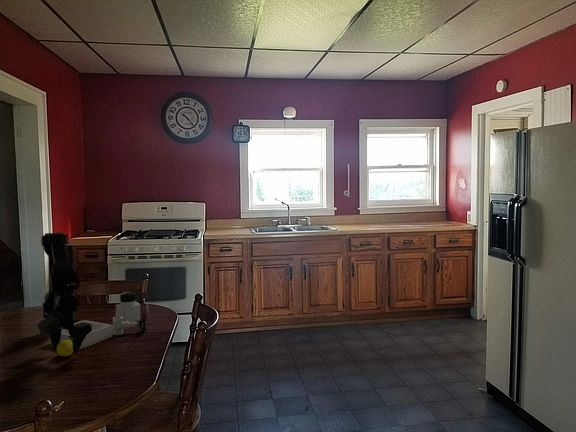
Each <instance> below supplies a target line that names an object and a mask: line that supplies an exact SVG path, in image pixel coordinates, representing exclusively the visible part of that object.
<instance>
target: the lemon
mask: <svg viewBox="0 0 576 432" xmlns="http://www.w3.org/2000/svg"><path fill="white" fill-rule="evenodd" d="M55 351H56V353H57V355H58V356H60V357H65V358H66V357H69V356H71V355H72V354H74V352H73V345H72V341H70V340H63V341H61V342H60V343H59V344H58V346H57V349H56V350H55Z"/></svg>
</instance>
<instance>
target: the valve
mask: <svg viewBox="0 0 576 432" xmlns="http://www.w3.org/2000/svg"><path fill="white" fill-rule="evenodd" d="M111 325H112V326H113V336H122V335H123V334H124V333H125V330H124V329H126V330H127V329H129V328H130V327H132V328H133V327H137V326H138V327H139V328H140V329H141V330H142V332H146V329H147V328H146V314H142V318H141V319H140V320H139V321H136V322H132V323H130V322H128V321H126V322H123V316H116V315H115V316H113V317H112V324H111Z"/></svg>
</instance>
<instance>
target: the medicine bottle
mask: <svg viewBox="0 0 576 432" xmlns="http://www.w3.org/2000/svg"><path fill="white" fill-rule="evenodd" d="M119 301H120V302H119V303H118V304H116V305H115V316H123V322H126V321H128V322H130V323H132V322H136V323H137V322H138V321H140V319H142V318H141V317H142V316H141V303H138V302H136V293H135V292H132V291H125V292H123V293H120V296H119Z"/></svg>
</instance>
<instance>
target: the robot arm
mask: <svg viewBox="0 0 576 432" xmlns="http://www.w3.org/2000/svg"><path fill="white" fill-rule="evenodd" d="M68 235H69V234H64V232H52V233H51V232H48V233H44V235H42V236H41V237H40V241H41V242H40V243H41V247H43V250H44V253H45V254H46V255H47V258H48V259H47V260H48V261H47V262H48V265H47V266H48V267H47V268H48V291H47V292H46V294H45V296H44V297H43V299H44V300H43V302H42V305H41V307H42V308H41V315H42V318H43V320H40V321H39V323H37V325H36V326H37V327H38V330H39V333H40V334H42V335H43V334H44V335H46V336H48V339H49V338H50V340H51V343H52V344H51V345H52V348H53V349H54V351H57V350H56V349H57V346H58V344H59V343H60V338H61V332H62V329H65V330H68V333H69V334H70V336H68V337H69V338H70V339H72V345H73V355H77V354H79V351H80V350H81V349H80V347H81V344H82V342H83V340H84V339H85V337H86V335H87V334H89V332H92V325H90V324H89V323H83V322H82V323H79V324H76V325H74V323H77V322H78V319H76V318H75V311H78V306H79V300H78V298H77V296H76V295H75V293H74V291H75V290H79V287H80V284H81V283H80V279H79V273H78V271H77V270H75V268H74V265H73V263H72V262H70V261H69V260H68V254H67V250H66V249H67V248H66V246H67V245H69V236H68ZM79 349H80V350H79Z"/></svg>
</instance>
